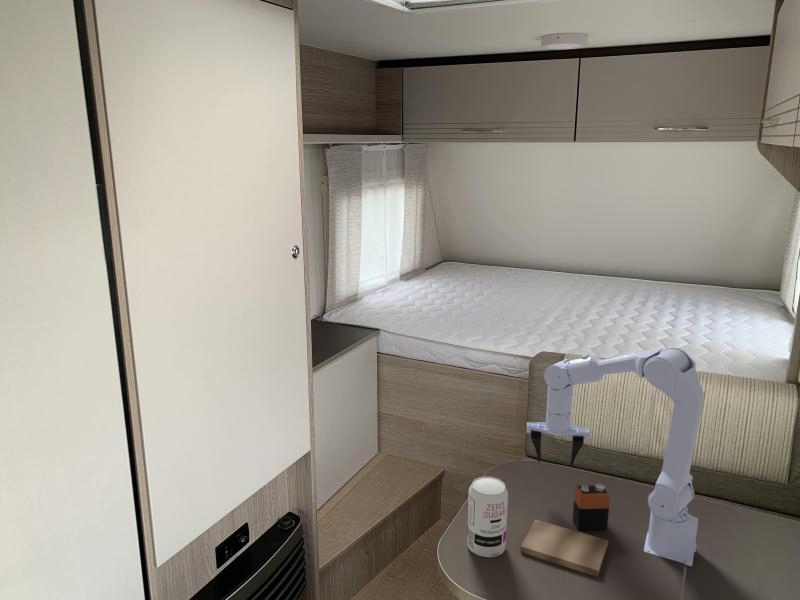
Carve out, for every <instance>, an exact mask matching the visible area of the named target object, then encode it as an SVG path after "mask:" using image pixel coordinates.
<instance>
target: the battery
mask: <svg viewBox="0 0 800 600" xmlns="http://www.w3.org/2000/svg"><path fill="white" fill-rule="evenodd" d="M573 496H574V497H573V510H572V521H573V523H574V525H575V527H576V528H577V531H604V530H607V529H608V522H609V513H610V502H611V501H610V500H611V494H610V492H609V491H608V490H607V488H606V487H605V485H604V484H602V483H596V484H591V485H590V484H589V485H588V484H583V485H579V484H578V485H575V486H574V494H573Z"/></svg>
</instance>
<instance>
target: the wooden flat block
mask: <svg viewBox="0 0 800 600" xmlns="http://www.w3.org/2000/svg"><path fill="white" fill-rule="evenodd" d="M608 545H609V540H608V539H605V538H601V537H598V536H594V535H590V534H588V533H585V532H580V531H578V530H574V529H570V528H566V527H564V526H563V527H562V526H559V525H556V524H553V523H550V522H547V521H542V520H539V519H534V521H533V523H532V524H531V526H530V528H529V530H528V533H527V534H526V536H525V538H524V539H523V542H522V543H521V545H520V553H523V554H525V555H528V556H531V557H534V558H537V559H539V560H540V559H541V560H543V561H546V562H550V563H553V564H554V565H555V564H556V565H559V566H562V567H564V568H568V569H571V570H573V571H574V570H575V571H578V572H581V573H583V574H584V573H585V574H587V575H590V576H593V577H597V578H598V577H599V575H600V573H601V569H602V567H603V566H602V565H603V562H604V559H605V555H606V553H607V550H608Z"/></svg>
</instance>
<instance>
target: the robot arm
mask: <svg viewBox="0 0 800 600" xmlns="http://www.w3.org/2000/svg"><path fill="white" fill-rule="evenodd" d="M661 351H662V352H661ZM580 357H581V358H576V359H570V358H566V359H564V360H561V361H560V360H559V362H557V363H554V364H552V365H550V366H548V367H547V368H546V369H545V370H544V373H543V378H544V382H545V383H546V385H547V397H546V414H545V421H542V422H541V421H540V422H537V421H536V422H530V421H529V422H528V421H527V422H526V432H525V433H527V434H530V439H531V442H532V444H533V447H534V449H535V452H536V457H537V462H538V463H540V462H541V461H542V459H541V458H542V457H541V456H542V434H543V435H544V434H546V435H548V434H549V435H551V436H558V437H563V436H564V437H570V438H571V437H572V438H571V439H572V440H571V441H572V442H571V452H570V457H569V465H570V467H573V466H574V462H575V459H576V457H577V455H578V453H579V452H580V450H581V449H582V447H583V446H584V444H585V443H584V442H585V441H584V440H587V441H589V437H590V430H589V428H584V427H579V426H576V425H572V424H571V417H572V406H573V405H572V404H573V403H572V402H573V391H574V390H573V389H574V386H577V385H583V384H589V383H595V382H600V381H602V379H603V378H604V376H605V375H611V374H613V375H614V374H620V373H629V372H635V374H636V375H637V376H638V378H639V379H640V378H641V379H643V378H645V379H646V381H647V382H648V383H649V384H651V385H652V386H653V387H654V388H656V389H658V390H659V391H660V392H662V393H663V394H664V395H666V396H667V397H668V398H670V400H671V401H672V402H673V408H672V409H673V410H672V412H671V413H672V415H671V420H670V424H669V425H670V426H669V430H668V436H667V442H666V446H665V452H664V457H663V462H662V463H663V464H662V469H661V473H660V474H659V475H658V478H657V480H656V482H655V487H654V489H653V490H652V492H650V494H648V498H647V504H648V508H649V509H650V516H649V525H648V531H647V533H646V536H645V543H644V546H643V547H644V548H643V552H645V553H647V554H651V555H654V556H657V557H661V558H664V559H668V560H671V561H675V562H679V563H682V564H684V566H687V567H693V564H694V555H695V553H696V551H697V545H698V544H697V543H696V541H697V540H696V539H697V532H698V525H699V518H698V517H695V516H693V515H691V514H690V513H689V510H688V504H689V503H690V502H692V501H693V500H694V497H695V490H694V487H693V475H692V474H690V471H691V467H692V462H693V456H694V451H695V447H696V442H697V435H698V433H699V432H698V431H699V427H700V422H701V416H702V412H703V405H704V400H705V394H704V390H703V387H702V385H701V383H700V380H699V377H698V374H697V370H696V369H697V367H696V366H697V365H696V362H695V361H694V360H693V358H692V357H691V356H690V355H689V354H688V353H687V352H686V350H683V349H681V348H679V347H673V346H672V347H668V348H666V349H665V350H664V348H655V349H649V350H643V351H638V352H633V353H627V354H624V355H620V356H615V357H611V358H605V359H601V358H599V357H598V356H595V355H593V356H591V355H590V354H589V353H588V354H584V355H583V354H582V355H581V356H580Z"/></svg>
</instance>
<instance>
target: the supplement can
mask: <svg viewBox="0 0 800 600" xmlns="http://www.w3.org/2000/svg"><path fill="white" fill-rule="evenodd" d="M467 498H468V500H467V504H468V505H467V530H466V531H467V533H466V536H467V537H466V538H467V539H466V545H467V548H468V549H469V550H470V551H471V553H473V554H475V555H476V556H479V557H482V558H483V557H484V558H494V557H495V558H496V557H498V556H500V555H502V554H503V553H504V552H505V551H506V547H507V544H506V543H507V542H506V541H507V525H508V524H507V523H508V506H509V505H508V503H509V491H508V490H507V487H506V484H505V482H504V481H502V480H501V479H499V478H497V477H494V476H480V477H478V478H477V477H476V478H475V479H474V480H472V484H471V485H470V486H469V489H468V497H467Z"/></svg>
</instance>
